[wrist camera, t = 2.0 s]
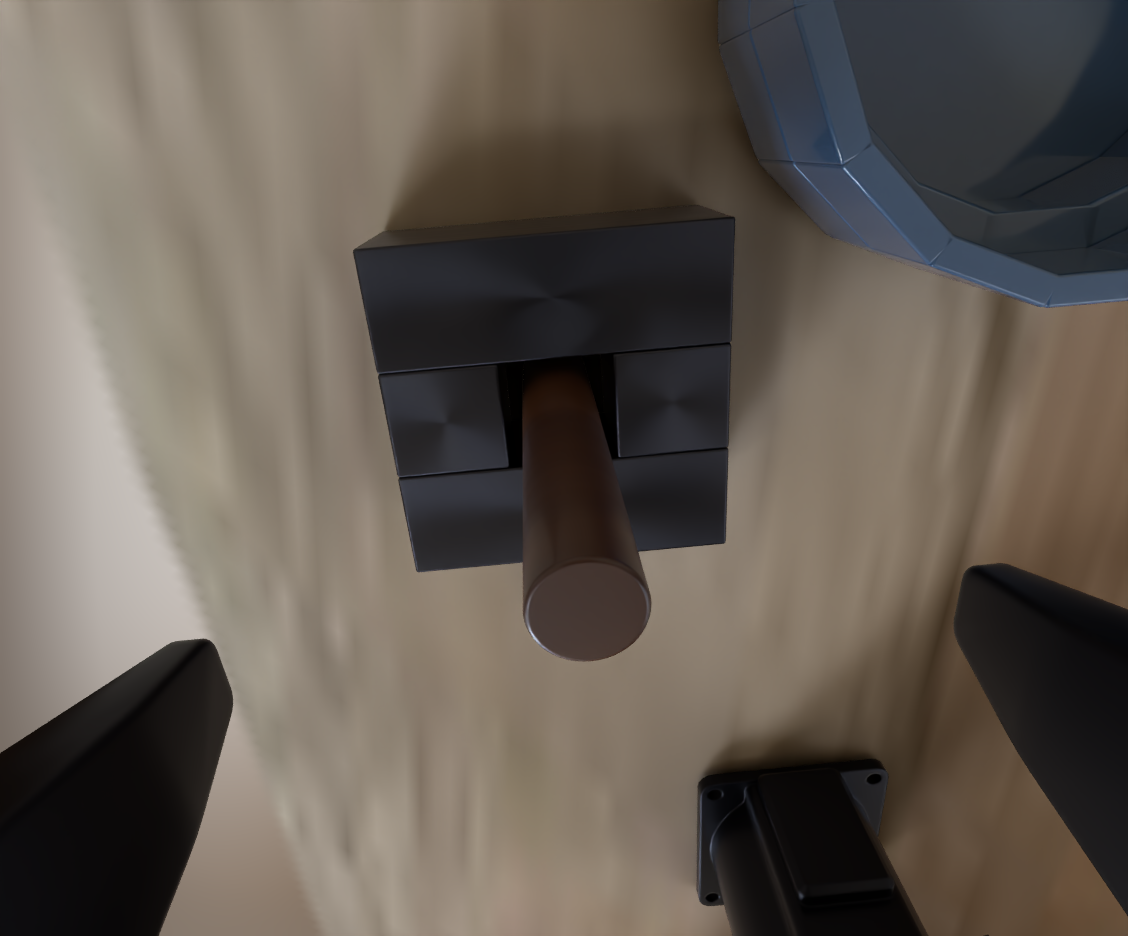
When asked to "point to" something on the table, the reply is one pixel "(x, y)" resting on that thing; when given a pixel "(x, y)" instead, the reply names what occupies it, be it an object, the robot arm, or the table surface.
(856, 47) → the bowl
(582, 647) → the stick
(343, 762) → the table surface
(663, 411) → the holder
